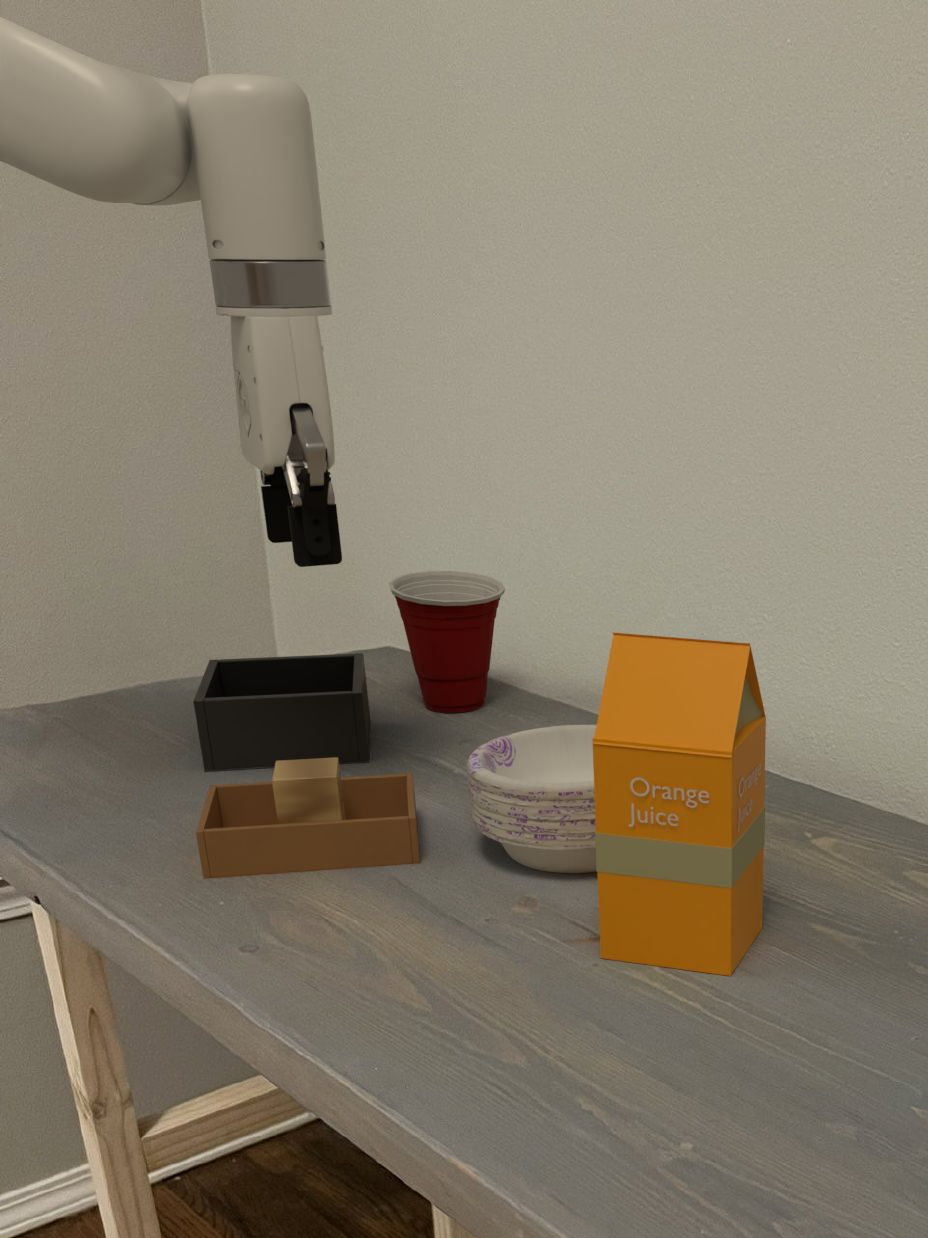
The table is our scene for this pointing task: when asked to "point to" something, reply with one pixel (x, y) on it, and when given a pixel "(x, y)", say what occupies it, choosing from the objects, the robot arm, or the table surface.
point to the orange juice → (679, 803)
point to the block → (308, 790)
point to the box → (308, 830)
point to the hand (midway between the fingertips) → (304, 552)
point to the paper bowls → (538, 796)
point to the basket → (283, 711)
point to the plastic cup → (449, 634)
